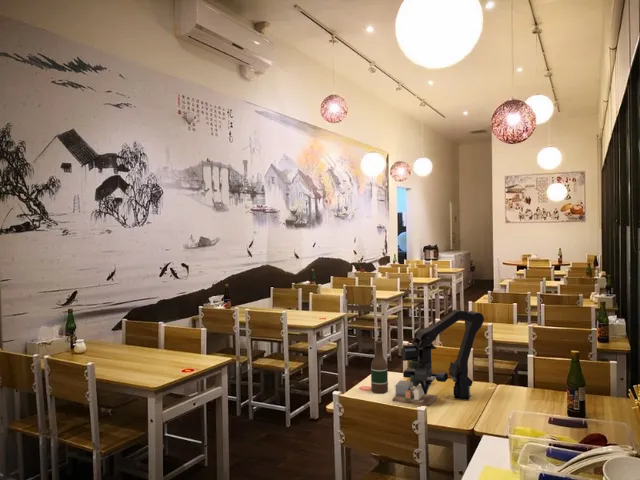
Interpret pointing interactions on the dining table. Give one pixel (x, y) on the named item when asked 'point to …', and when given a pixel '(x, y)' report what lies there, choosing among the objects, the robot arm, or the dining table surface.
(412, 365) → the mug
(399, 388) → the notched steel block
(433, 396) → the base
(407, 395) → the peach cube
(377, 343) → the beer bottle
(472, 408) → the dining table surface
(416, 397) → the plunger
